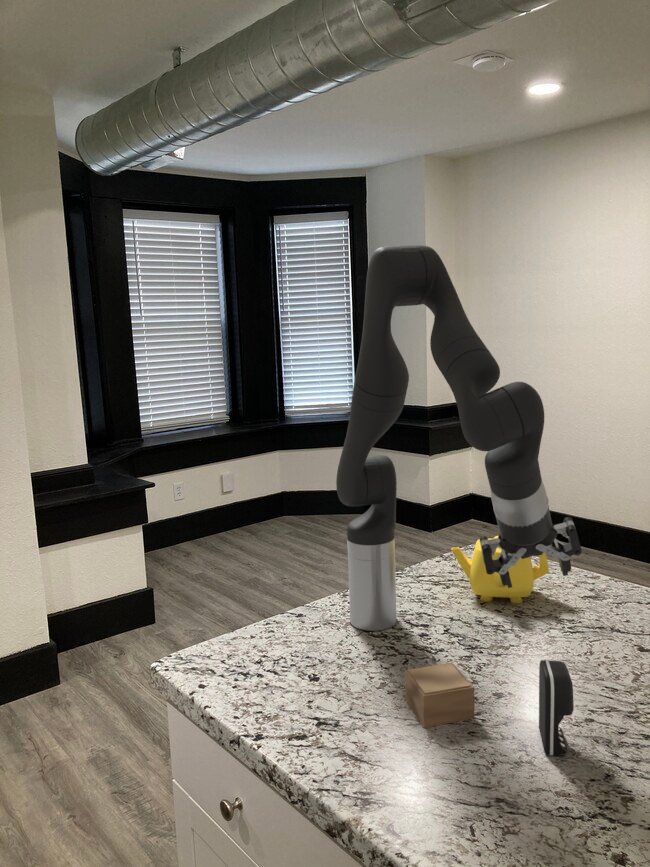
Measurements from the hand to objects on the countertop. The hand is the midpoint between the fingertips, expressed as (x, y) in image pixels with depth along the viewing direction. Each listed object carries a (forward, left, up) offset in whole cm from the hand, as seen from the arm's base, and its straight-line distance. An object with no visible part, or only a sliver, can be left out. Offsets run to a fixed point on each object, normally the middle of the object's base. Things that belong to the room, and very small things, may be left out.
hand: (536, 577), depth 110 cm
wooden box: (+1, -17, -19) cm, 25 cm away
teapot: (-35, +12, -19) cm, 42 cm away
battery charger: (+14, -5, -19) cm, 24 cm away
